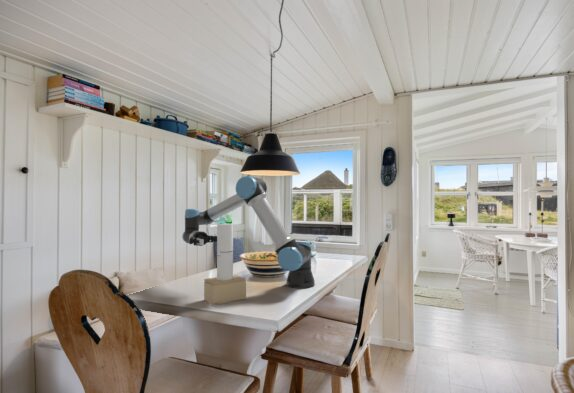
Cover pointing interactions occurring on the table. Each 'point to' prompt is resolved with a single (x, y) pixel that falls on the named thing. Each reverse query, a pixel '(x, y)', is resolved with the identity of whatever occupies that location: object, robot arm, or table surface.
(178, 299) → the table surface
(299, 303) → the table surface
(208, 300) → the box
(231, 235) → the cylindrical container
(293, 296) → the table surface
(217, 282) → the lid
